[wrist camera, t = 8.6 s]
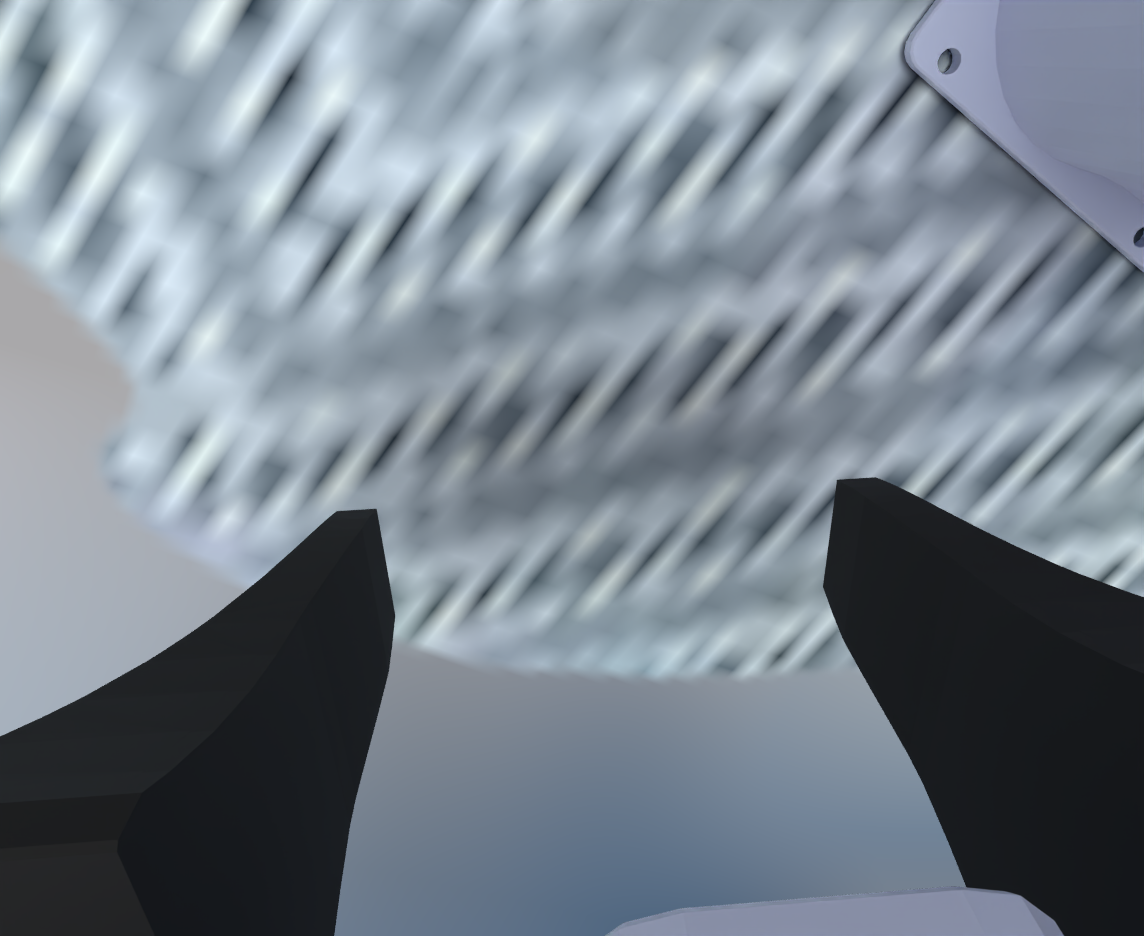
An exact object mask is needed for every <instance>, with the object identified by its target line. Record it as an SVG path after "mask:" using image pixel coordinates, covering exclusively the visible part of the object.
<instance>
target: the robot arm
mask: <svg viewBox="0 0 1144 936" xmlns="http://www.w3.org/2000/svg"><path fill="white" fill-rule="evenodd" d="M946 49H949V50H950V51H951V53H952V55H953V61H952V64H951V66H950V68H949V69H948V70H947V71H946V72H945V73H941V72H940V70H939V69H938V59H939V57H940V55H941V53H942V52H944V51H945V50H946ZM904 53H905V58H906V62H907V63H908V65H909V66H910V68H911V69H912V70H914V71H915V72H916V73H917V74H918V75H919V76H920V77H922V78H923V79H924V80H925V81H926V82H927V83H928V84H930V85H931V86H932V87H933V88H934V89H935V90H936V91H938V92H939V93H940V94H941V95H942V96H943V97H944V98H945V99H947V100H948V101H949V102H950V103H951V104H952V105H953V106H955V107H956V108H957V109H958V110H959V111H960V112H961V113H963V114H964V115H965V116H966V117H967V118H968V119H969V120H970V121H972V122H973V123H974V124H975V125H976V126H977V127H978V128H980V129H981V130H982V131H983V132H984V133H985V134H986V135H988V136H989V137H990V138H991V139H992V140H993V141H994V142H996V143H997V144H998V145H999V146H1000V147H1001V148H1002V149H1003V150H1005V151H1006V152H1007V153H1008V154H1009V155H1010V156H1011V157H1013V158H1014V159H1015V160H1016V161H1017V162H1018V163H1019V164H1021V165H1022V166H1023V167H1024V168H1025V169H1026V170H1027V171H1028V172H1030V173H1031V174H1032V175H1033V176H1034V177H1035V178H1036V179H1038V180H1039V181H1040V182H1041V183H1042V184H1043V185H1044V186H1046V187H1047V188H1048V189H1049V190H1050V191H1051V192H1052V193H1054V194H1055V195H1056V196H1057V197H1058V198H1059V199H1060V200H1061V201H1063V202H1064V203H1065V204H1066V205H1067V206H1068V207H1069V208H1071V209H1072V210H1073V211H1074V212H1075V213H1076V214H1077V215H1079V216H1080V217H1081V218H1082V219H1083V220H1084V221H1085V222H1087V223H1088V224H1089V225H1090V226H1091V227H1092V228H1093V229H1094V230H1096V231H1097V232H1098V233H1099V234H1100V235H1101V236H1102V237H1104V238H1105V239H1106V240H1107V241H1108V242H1109V243H1110V244H1112V245H1113V246H1114V247H1115V248H1116V249H1117V250H1118V251H1119V252H1121V253H1122V254H1123V255H1124V256H1125V257H1126V258H1127V259H1129V260H1130V261H1131V262H1132V263H1133V264H1134V265H1135V266H1137V267H1138V268H1139V269H1140V270H1141V271H1142V272H1144V232H1143V235H1142V237H1141V238H1140V240H1138V241H1137V242H1136V243H1134V242H1133V240H1134V235H1135V234H1136V232H1137V231H1138V230H1139V229H1141V228H1142V227H1143V228H1144V0H935V1H934V3H933V4H932V5H931V7H930V8H929V9H928V11H927V12H926V13H925V15H924V16H923V18H922V19H921V20H920V22H919V23H918V24H917V26H916V27H915V28H914V30H913V31H912V32H911V34H910V36H909V38H908V40H907V41H906V45H905V51H904ZM823 588H824V591H825V593H826V596H827V599H828V602H829V604H830V607H831V610H832V613H833V615H834V618H835V620H836V623H837V625H838V628H839V630H840V633H841V635H842V638H843V640H844V642H845V644H846V646H847V647H848V649H849V651H850V653H851V655H852V657H853V658H854V660H855V662H856V664H857V665H858V667H859V669H860V671H861V673H862V674H863V676H864V678H865V680H866V682H867V683H868V685H869V687H870V689H871V690H872V692H873V694H874V696H875V697H876V699H877V701H878V703H879V704H880V706H881V708H882V710H883V711H884V713H885V715H886V717H887V718H888V720H889V722H890V724H891V725H892V727H893V729H894V730H895V732H896V734H897V736H898V737H899V739H900V741H901V743H902V745H903V746H904V748H905V750H906V752H907V753H908V755H909V757H910V759H911V760H912V763H913V765H914V767H915V769H916V770H917V773H918V775H919V776H920V778H921V781H922V783H923V785H924V787H925V789H926V792H927V794H928V796H929V798H930V801H931V803H932V805H933V808H934V810H935V812H936V815H937V817H938V819H939V822H940V824H941V826H942V829H943V831H944V833H945V835H946V838H947V840H948V842H949V845H950V847H951V850H952V853H953V855H954V857H955V860H956V862H957V865H958V867H959V870H960V872H961V875H962V877H963V880H964V882H965V885H966V887H967V888H966V887H956V886H951V887H937V888H925V889H913V890H901V891H888V892H876V893H864V894H852V895H840V896H827V897H815V898H803V899H791V900H779V901H767V902H754V903H743V904H730V905H718V906H706V907H693V908H681V909H677V910H673V911H669V912H665V913H661V914H657V915H653V916H649V917H645V918H641V919H637V920H633V921H629V922H625V923H623V924H621V925H620V926H618V927H617V928H616V929H614V930H613V931H611V932H610V933H609V934H607V935H606V936H1144V597H1141V596H1138V595H1135V594H1132V593H1129V592H1127V591H1124V590H1121V589H1118V588H1116V587H1113V586H1110V585H1108V584H1105V583H1102V582H1100V581H1097V580H1094V579H1092V578H1089V577H1086V576H1084V575H1081V574H1078V573H1076V572H1073V571H1071V570H1069V569H1066V568H1064V567H1061V566H1059V565H1057V564H1054V563H1052V562H1050V561H1047V560H1045V559H1043V558H1041V557H1039V556H1036V555H1034V554H1032V553H1030V552H1027V551H1025V550H1023V549H1021V548H1019V547H1016V546H1014V545H1012V544H1010V543H1008V542H1006V541H1004V540H1002V539H1000V538H998V537H996V536H993V535H991V534H989V533H987V532H985V531H983V530H981V529H979V528H977V527H975V526H973V525H972V524H970V523H968V522H966V521H964V520H962V519H960V518H958V517H956V516H954V515H952V514H950V513H948V512H946V511H944V510H942V509H941V508H939V507H937V506H935V505H933V504H931V503H929V502H927V501H925V500H923V499H921V498H919V497H917V496H915V495H913V494H911V493H909V492H907V491H905V490H903V489H901V488H899V487H897V486H895V485H893V484H891V483H888V482H886V481H883V480H881V479H878V478H876V477H875V478H859V479H843V480H837V485H836V492H835V500H834V508H833V515H832V523H831V530H830V538H829V546H828V553H827V561H826V568H825V576H824V584H823ZM394 622H395V612H394V606H393V600H392V595H391V589H390V583H389V577H388V572H387V566H386V560H385V554H384V549H383V543H382V537H381V532H380V526H379V520H378V514H377V509H365V510H349V511H337V512H335V513H334V514H333V515H332V516H330V517H329V518H328V519H327V520H326V521H325V522H323V523H322V524H321V525H320V526H319V527H318V528H317V529H316V530H315V531H313V532H312V533H311V534H310V535H309V536H308V537H307V538H306V539H305V540H304V541H303V542H301V543H300V544H299V545H298V546H297V547H296V548H295V549H294V550H293V551H292V552H290V553H289V554H288V555H287V556H286V557H285V558H284V559H283V560H281V561H280V562H279V563H278V564H277V565H276V566H275V567H274V568H272V569H271V570H270V571H269V572H268V573H267V574H266V575H265V576H263V577H262V578H261V579H260V580H259V581H257V582H256V583H255V584H254V585H252V586H251V587H250V588H249V589H247V590H246V591H245V592H244V593H242V594H241V595H240V596H239V597H237V598H236V599H235V600H234V601H232V602H231V603H230V604H229V605H227V606H226V607H225V608H224V609H222V610H221V611H220V612H219V613H217V614H216V615H215V616H214V617H212V618H211V619H210V620H208V621H207V622H205V623H204V624H203V625H201V626H200V627H198V628H197V629H196V630H194V631H193V632H191V633H190V634H188V635H187V636H185V637H184V638H183V639H181V640H179V641H178V642H176V643H175V644H173V645H172V646H170V647H169V648H167V649H166V650H164V651H163V652H161V653H159V654H158V655H156V656H155V657H153V658H151V659H150V660H149V661H147V662H145V663H143V664H141V665H140V666H138V667H136V668H134V669H133V670H131V671H129V672H127V673H125V674H124V675H122V676H120V677H118V678H117V679H115V680H113V681H111V682H109V683H108V684H106V685H104V686H102V687H100V688H99V689H97V690H95V691H93V692H92V693H90V694H88V695H86V696H85V697H82V698H80V699H79V700H77V701H75V702H73V703H71V704H68V705H67V706H64V707H62V708H60V709H58V710H56V711H54V712H52V713H50V714H48V715H46V716H44V717H42V718H40V719H38V720H35V721H33V722H31V723H29V724H27V725H24V726H22V727H20V728H18V729H16V730H14V731H11V732H9V733H7V734H5V735H2V736H0V936H334V933H335V925H336V918H337V917H336V916H337V910H338V903H339V895H340V888H341V881H342V874H343V868H344V862H345V855H346V848H347V842H348V834H349V828H350V823H351V818H352V814H353V809H354V804H355V800H356V795H357V792H358V788H359V784H360V780H361V776H362V772H363V769H364V764H365V761H366V757H367V753H368V750H369V746H370V742H371V738H372V735H373V730H374V727H375V723H376V720H377V716H378V712H379V708H380V704H381V700H382V696H383V692H384V688H385V684H386V680H387V676H388V672H389V665H390V657H391V650H392V641H393V632H394Z"/></svg>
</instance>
